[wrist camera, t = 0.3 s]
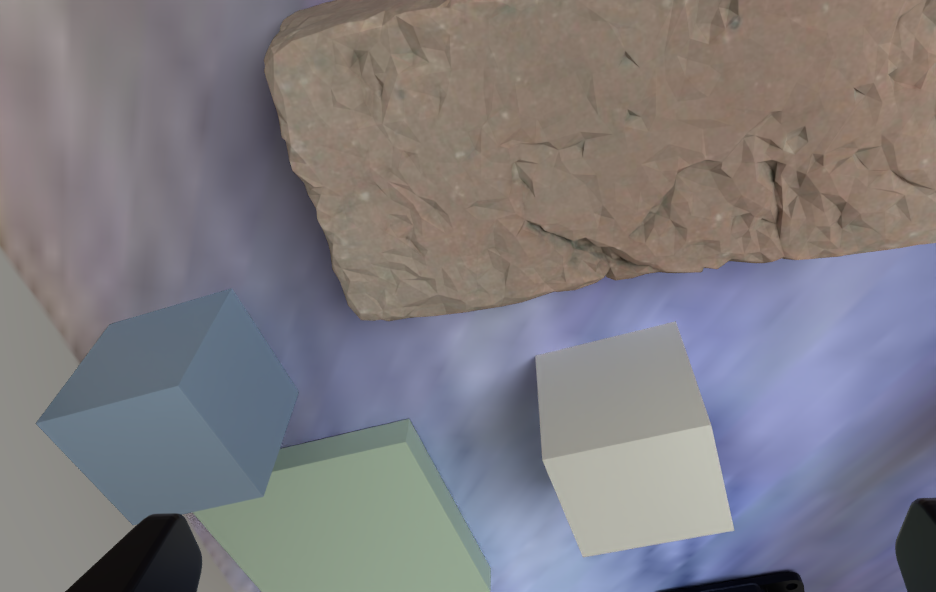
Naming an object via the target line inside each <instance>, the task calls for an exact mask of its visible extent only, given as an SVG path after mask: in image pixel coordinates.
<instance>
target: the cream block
mask: <svg viewBox="0 0 936 592" xmlns="http://www.w3.org/2000/svg"><path fill="white" fill-rule="evenodd" d="M535 358H536V373H537V388H538V403H539V418H540V433H541V448H542V461H543V463H544V465H545V468H546V470H547V472H548V475H549V477H550V480H551V482H552V484H553V487H554V489H555V492H556V494H557V496H558V499H559V501H560V503H561V506H562V508H563V511H564V513H565V515H566V518H567V520H568V523H569V525H570V527H571V530H572V532H573V534H574V537H575V539H576V542H577V544H578V546H579V549H580V551H581V554H582V556H583V557H588V556H593V555H599V554H605V553H610V552H616V551H622V550H627V549H633V548H638V547H644V546H650V545H655V544H661V543H667V542H672V541H678V540H684V539H689V538H695V537H700V536H706V535H712V534H717V533H723V532H729V531H734V527H733V522H732V518H731V513H730V509H729V504H728V500H727V495H726V491H725V486H724V482H723V477H722V472H721V468H720V463H719V459H718V454H717V450H716V445H715V441H714V436H713V431H712V427H711V423H710V420H709V417H708V414H707V411H706V409H705V406H704V403H703V400H702V397H701V394H700V391H699V388H698V385H697V382H696V379H695V376H694V373H693V370H692V368H691V365H690V362H689V359H688V356H687V353H686V350H685V347H684V344H683V341H682V338H681V335H680V332H679V330H678V327H677V324H676V321H675V322H671V323H667V324H663V325H659V326H655V327H651V328H647V329H643V330H639V331H635V332H630V333H626V334H622V335H618V336H614V337H610V338H606V339H602V340H598V341H594V342H590V343H585V344H581V345H577V346H573V347H569V348H565V349H561V350H557V351H553V352H549V353H545V354H540V355H536V356H535Z"/></svg>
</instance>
